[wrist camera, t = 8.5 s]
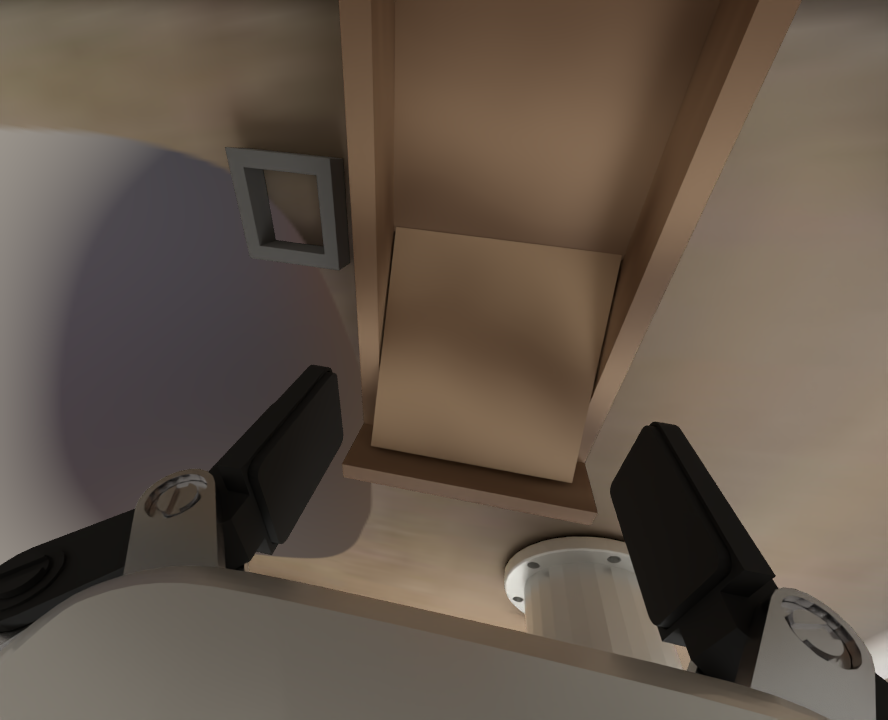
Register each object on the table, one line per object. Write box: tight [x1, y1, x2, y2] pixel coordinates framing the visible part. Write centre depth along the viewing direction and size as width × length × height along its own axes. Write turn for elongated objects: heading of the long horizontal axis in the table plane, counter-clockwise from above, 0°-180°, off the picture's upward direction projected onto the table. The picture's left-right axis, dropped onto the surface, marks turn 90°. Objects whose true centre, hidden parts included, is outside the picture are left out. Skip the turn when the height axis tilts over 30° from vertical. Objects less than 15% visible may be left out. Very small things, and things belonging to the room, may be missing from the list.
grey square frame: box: [225, 147, 350, 270], centre depth 14 cm, size 4×4×1 cm
